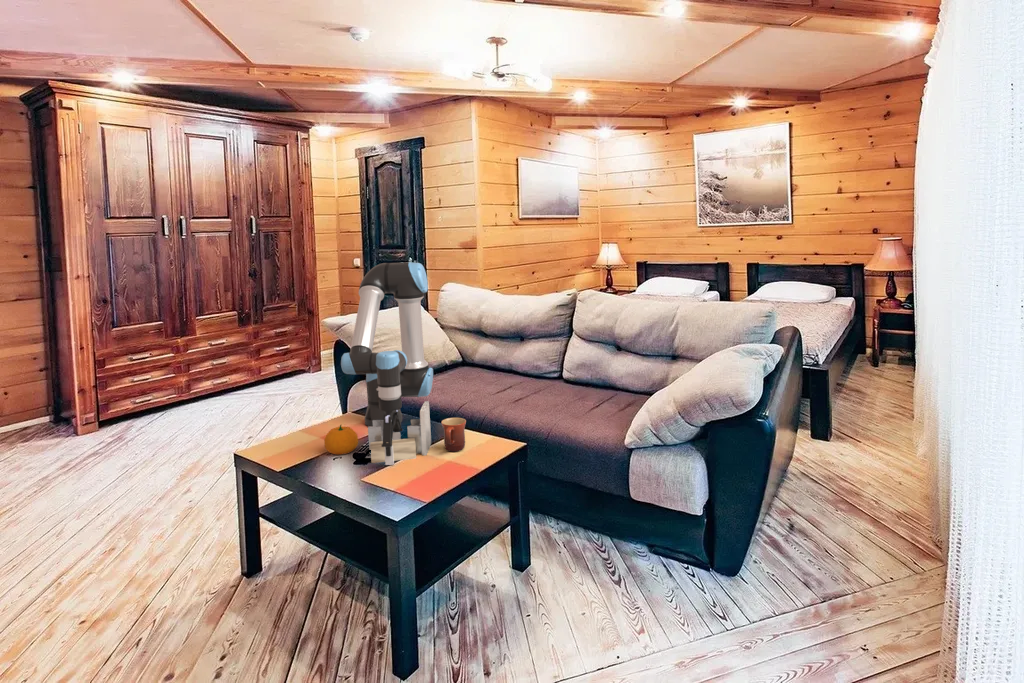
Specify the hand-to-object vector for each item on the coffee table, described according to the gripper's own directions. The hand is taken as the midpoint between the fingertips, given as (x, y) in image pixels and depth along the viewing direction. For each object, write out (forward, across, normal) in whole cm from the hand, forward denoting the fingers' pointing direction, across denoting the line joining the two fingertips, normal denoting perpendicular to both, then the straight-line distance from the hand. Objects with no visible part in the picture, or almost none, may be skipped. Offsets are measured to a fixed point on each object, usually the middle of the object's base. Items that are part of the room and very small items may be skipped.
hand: (393, 457), depth 211 cm
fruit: (+1, -8, -20) cm, 22 cm away
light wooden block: (+1, 0, 0) cm, 1 cm away
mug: (+1, -6, +20) cm, 21 cm away
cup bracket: (0, -8, +7) cm, 11 cm away
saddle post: (0, -8, -7) cm, 11 cm away
